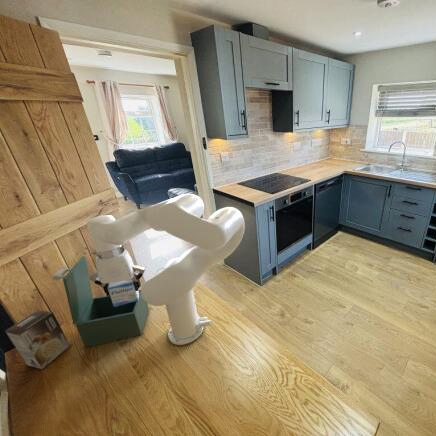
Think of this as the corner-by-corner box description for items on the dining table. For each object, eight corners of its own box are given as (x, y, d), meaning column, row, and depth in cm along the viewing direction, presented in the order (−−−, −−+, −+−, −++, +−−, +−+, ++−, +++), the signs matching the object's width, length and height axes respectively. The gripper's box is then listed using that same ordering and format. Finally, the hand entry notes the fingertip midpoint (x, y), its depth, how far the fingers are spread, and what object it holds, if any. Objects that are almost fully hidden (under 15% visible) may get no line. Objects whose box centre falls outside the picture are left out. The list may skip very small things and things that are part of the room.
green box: (148, 309, 102) (143, 289, 98) (141, 334, 90) (134, 313, 86) (100, 318, 97) (92, 297, 92) (85, 347, 85) (75, 324, 80)
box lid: (85, 256, 86) (65, 256, 84) (65, 278, 74) (42, 280, 72) (93, 296, 92) (75, 298, 90) (76, 323, 80) (55, 326, 79)
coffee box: (56, 342, 86) (39, 308, 80) (71, 345, 85) (54, 311, 79) (26, 366, 78) (3, 330, 72) (41, 370, 77) (20, 334, 71)
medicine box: (113, 307, 87) (106, 288, 83) (115, 299, 90) (109, 281, 87) (138, 300, 90) (133, 282, 87) (139, 293, 94) (134, 275, 90)
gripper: (74, 260, 76) (92, 302, 82) (136, 252, 81) (148, 293, 88) (85, 249, 82) (100, 289, 89) (142, 242, 87) (152, 280, 94)
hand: (124, 290), depth 88 cm, fingers closed on medicine box, 8 cm apart
